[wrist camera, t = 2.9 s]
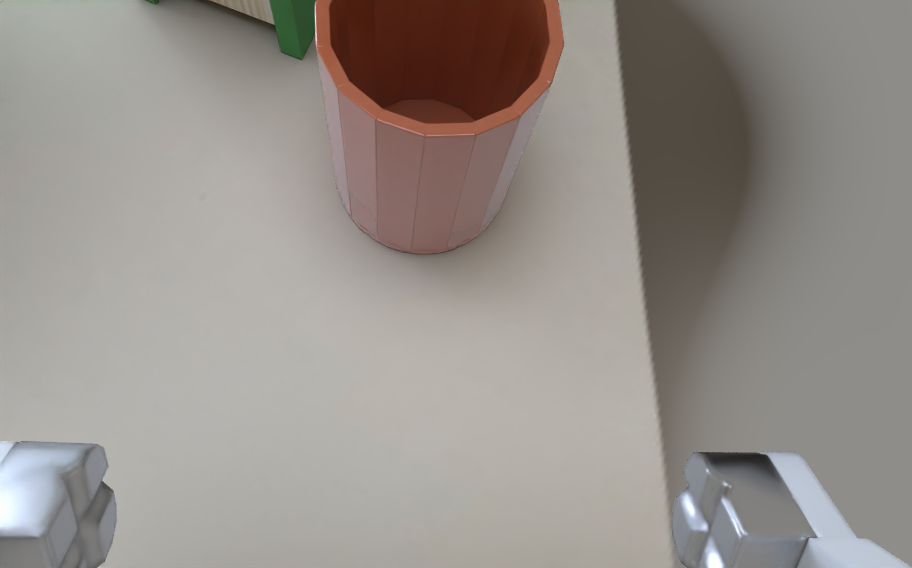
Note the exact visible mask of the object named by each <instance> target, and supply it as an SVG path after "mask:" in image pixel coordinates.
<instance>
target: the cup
mask: <svg viewBox="0 0 912 568" xmlns="http://www.w3.org/2000/svg"><path fill="white" fill-rule="evenodd" d="M314 8H315V37H316V51H317V58H318V65H319V71H320V78H321V85H322V92H323V99H324V105H325V112H326V119H327V126H328V132H329V139H330V146H331V153H332V160H333V166H334V173H335V180H336V186H337V189H338V191H339V194H340V197H341V200H342V202H343V205H344V207H345V209H346V210H347V212H348V214H349V215H350V217H351V218H352V219H353V221H354V222H355V223H356V224H357V225H358V226H359V227H360V228H361V229H362V230H363V231H364V232H365V233H366V234H367V235H369V236H370V237H371V238H373V239H374V240H376V241H378V242H379V243H381V244H383V245H385V246H388V247H390V248H393V249H395V250H399V251H403V252H408V253H415V254H432V253H440V252H444V251H449V250H452V249H454V248H457V247H460V246H462V245H464V244H466V243H467V242H469V241H471V240H472V239H474V238H475V237H476V236H478V235H479V234H480V233H481V232H482V231H483V230H484V229H485V228H487V226H488V225H489V224H490V223H491V221H492V220H493V219H494V217H495V215H496V214H497V213H498V211H499V210H500V208H501V206H502V203H503V201H504V198H505V196H506V194H507V191H508V189H509V186H510V184H511V181H512V179H513V176H514V174H515V172H516V169H517V167H518V164H519V162H520V159H521V157H522V154H523V152H524V150H525V147H526V145H527V142H528V140H529V137H530V135H531V132H532V130H533V128H534V125H535V123H536V120H537V118H538V115H539V113H540V110H541V108H542V106H543V103H544V101H545V98H546V96H547V93H548V91H549V88H550V86H551V84H552V81H553V78H554V74H555V71H556V68H557V65H558V62H559V59H560V56H561V53H562V50H563V47H564V39H563V31H562V24H561V16H560V9H559V3H558V0H316V2H315V6H314Z"/></svg>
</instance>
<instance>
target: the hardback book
mask: <svg viewBox="0 0 912 568" xmlns="http://www.w3.org/2000/svg"><path fill="white" fill-rule="evenodd" d="M147 1H149V2H152V3H155V4H156V3H157V2H158V0H147ZM210 1H213V2H216V3H218V4H221V5H224V6H226V7H229V8H231V9H234V10H237V11H239V12H242V13H245V14H247V15H250V16H252V17H255V18H258V19H260V20H263V21H266V22H268V23H271V24H273V25H275V28H276V32H277V36H278V41H279V45H280V50H281V52H283V53H286V54H288V55H291V56H294V57H296V58H299V59H301V60H302V58H303V56H304V54H305V52H306V50H307V48H308V46H309V44H310V42H311V40H312V38H313V36H314V34H315V8H314V6H315V2H316V0H210Z"/></svg>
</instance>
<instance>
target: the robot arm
mask: <svg viewBox="0 0 912 568" xmlns="http://www.w3.org/2000/svg"><path fill="white" fill-rule="evenodd" d="M107 468H108V462H107V458H106V454H105V450H104V447H102V446H100V445H98V444H86V443H59V442H32V441H21V442H10V441H0V568H97V567H98V566H100V565H101V564H102V563H103V562H105V560H106V557H107V555H108V552H109V550H110V547H111V545H112V541H113V536H114V531H115V526H116V500H115V495H114V491H113V490H112V489H111V488H110V487H109V486H107V485H106V484H105V483H104V482H103V481H102V479H103V477H104V475H105V473H106V471H107ZM683 474H684V476H685V479H686V481H687V483H688V487H687V488H686V489H684V490H683V491H682V492H681V493H680V494H678V495H677V496H676V500H675V503H674V508H673V512H672V534H673V539H674V544H675V548H676V551H677V554H678V556H679V559H680V562H681V563H682V564H683V565H684V566H686V567H687V568H912V567H911V566H909V565H907V564H906V563H905V562H903V561H901V560H900V559H898V558H897V557H895V556H894V555H892V554H891V553H889V552H888V551H886V550H885V549H883V548H882V547H880V546H879V545H877V544H875V543H874V542H872V541H871V540H869V539H858V538H857V537H856V535H855V534H854V532H853V531H852V529H851V528H850V526H849V525H848V523H847V522H846V521H845V519H844V517H843V516H842V515H841V513H840V512H839V510H838V509H837V507H836V506H835V504H834V503H833V501H832V500H831V498H830V497H829V495H828V494H827V492H826V491H825V489H824V488H823V486H822V485H821V483H820V482H819V480H818V479H817V477H816V476H815V475H814V473H813V472H812V470H811V469H810V467H809V466H808V464H807V463H806V461H805V460H804V458H803V457H802V456H800V455H799V454H797V453H796V452H761V453H723V452H722V453H721V452H718V453H717V452H715V453H714V452H712V453H711V452H710V453H709V452H693V453H692V454H691V455H690V457H689V458H688V459H687V462H686V465H685V468H684V471H683Z"/></svg>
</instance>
